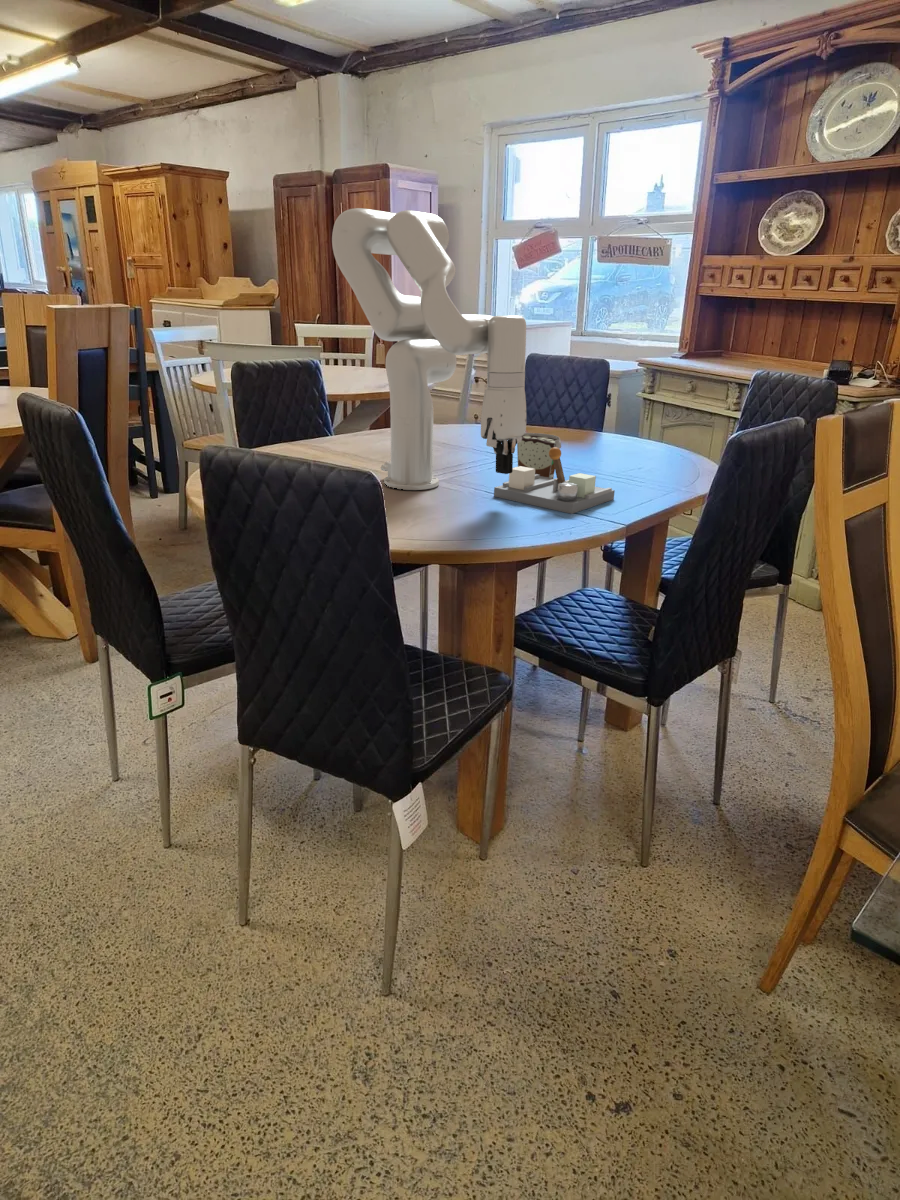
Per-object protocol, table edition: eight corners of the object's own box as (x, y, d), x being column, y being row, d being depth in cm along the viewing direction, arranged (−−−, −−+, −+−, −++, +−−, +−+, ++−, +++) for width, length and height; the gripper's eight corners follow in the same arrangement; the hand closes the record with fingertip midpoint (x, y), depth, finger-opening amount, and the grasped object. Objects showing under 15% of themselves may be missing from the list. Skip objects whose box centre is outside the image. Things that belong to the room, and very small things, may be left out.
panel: (493, 496, 166) (494, 476, 165) (538, 484, 178) (539, 465, 177) (572, 513, 154) (574, 492, 152) (614, 499, 166) (616, 479, 165)
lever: (554, 490, 164) (545, 451, 158) (561, 482, 166) (551, 443, 159) (565, 492, 163) (555, 452, 156) (571, 484, 164) (562, 445, 157)
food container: (568, 479, 184) (572, 437, 180) (553, 483, 180) (557, 440, 176) (528, 471, 192) (531, 430, 188) (513, 474, 187) (515, 433, 184)
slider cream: (508, 486, 166) (509, 468, 164) (519, 483, 169) (520, 466, 167) (523, 489, 164) (524, 471, 162) (534, 486, 166) (535, 468, 165)
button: (553, 499, 157) (554, 484, 156) (564, 495, 160) (565, 481, 159) (570, 502, 154) (571, 488, 153) (580, 499, 157) (581, 484, 156)
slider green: (567, 494, 161) (569, 475, 159) (577, 491, 164) (579, 473, 162) (584, 497, 158) (585, 478, 157) (594, 494, 161) (595, 476, 160)
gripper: (512, 378, 160) (510, 465, 166) (467, 383, 149) (467, 476, 155) (542, 380, 155) (539, 469, 161) (498, 385, 144) (496, 480, 151)
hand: (503, 472), depth 158 cm, fingers closed
